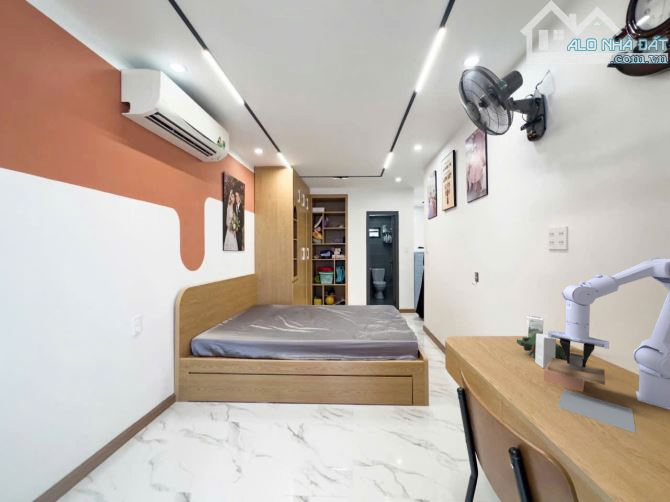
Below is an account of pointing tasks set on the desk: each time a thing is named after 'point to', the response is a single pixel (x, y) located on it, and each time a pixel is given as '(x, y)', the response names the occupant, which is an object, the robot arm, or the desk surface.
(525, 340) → the green toy dinosaur
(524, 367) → the desk surface
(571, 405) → the rubber mat
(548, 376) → the pink open box
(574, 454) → the desk surface
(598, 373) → the walnut lid
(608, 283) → the robot arm
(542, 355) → the skincare box
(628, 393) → the desk surface
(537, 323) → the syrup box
